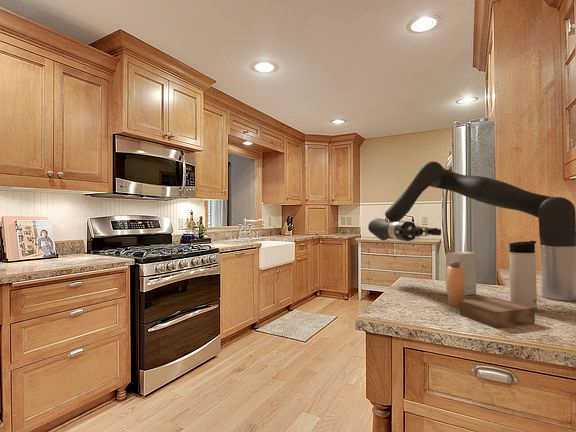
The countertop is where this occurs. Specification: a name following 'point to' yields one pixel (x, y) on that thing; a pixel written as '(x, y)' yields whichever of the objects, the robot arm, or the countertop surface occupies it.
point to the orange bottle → (455, 284)
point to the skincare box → (465, 269)
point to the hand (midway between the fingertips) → (429, 232)
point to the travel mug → (523, 273)
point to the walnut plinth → (497, 312)
